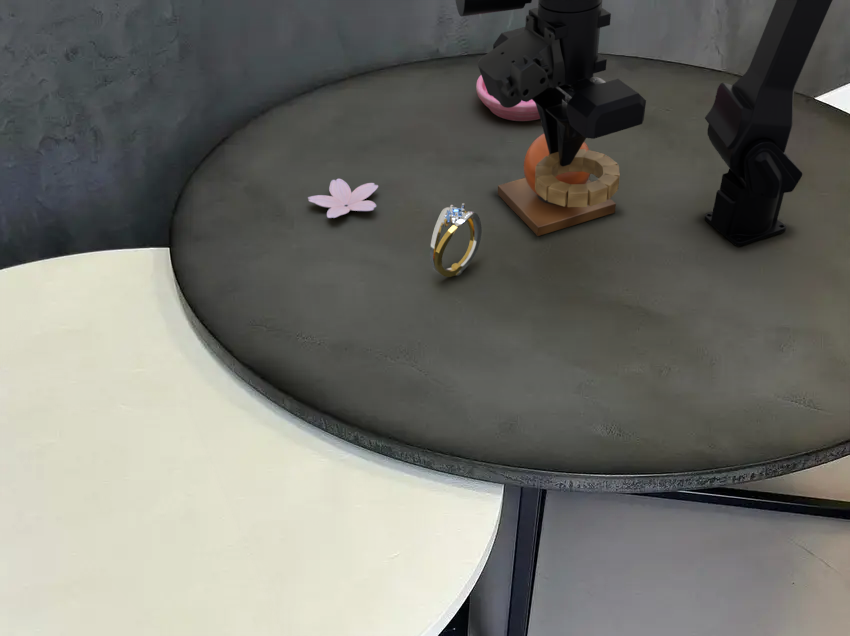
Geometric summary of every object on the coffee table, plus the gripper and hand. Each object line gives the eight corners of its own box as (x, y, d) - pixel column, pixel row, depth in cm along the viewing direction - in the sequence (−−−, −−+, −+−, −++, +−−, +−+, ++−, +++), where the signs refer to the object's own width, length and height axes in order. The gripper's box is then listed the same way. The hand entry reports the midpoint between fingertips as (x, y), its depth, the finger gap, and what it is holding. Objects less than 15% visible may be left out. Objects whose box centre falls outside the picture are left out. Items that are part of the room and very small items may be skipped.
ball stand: (571, 172, 119) (576, 103, 113) (615, 212, 113) (623, 142, 106) (497, 194, 117) (498, 125, 110) (537, 236, 111) (541, 166, 104)
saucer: (575, 125, 126) (577, 101, 124) (478, 130, 127) (478, 106, 125) (565, 80, 135) (567, 57, 132) (474, 85, 135) (474, 62, 133)
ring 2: (589, 155, 102) (590, 141, 101) (633, 192, 97) (635, 177, 96) (520, 177, 100) (520, 163, 99) (561, 216, 95) (562, 201, 94)
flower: (360, 239, 112) (359, 227, 111) (288, 219, 116) (286, 208, 115) (402, 196, 118) (402, 184, 117) (332, 179, 121) (330, 167, 120)
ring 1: (443, 293, 105) (441, 228, 99) (423, 281, 106) (419, 215, 100) (490, 265, 108) (490, 200, 102) (469, 253, 109) (468, 188, 103)
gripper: (443, -15, 92) (448, 142, 104) (544, 61, 81) (536, 228, 93) (547, -41, 95) (540, 114, 107) (659, 29, 83) (637, 195, 95)
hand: (560, 160), depth 100 cm, fingers closed on ring 2, 2 cm apart
